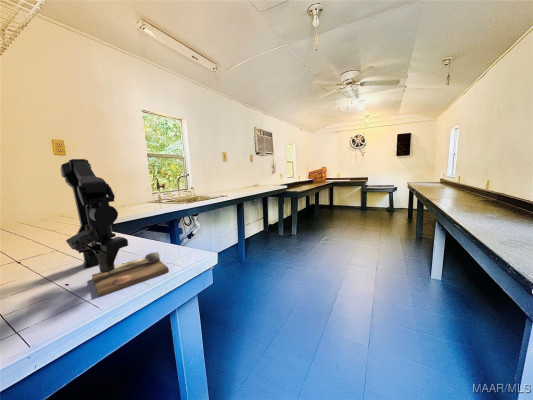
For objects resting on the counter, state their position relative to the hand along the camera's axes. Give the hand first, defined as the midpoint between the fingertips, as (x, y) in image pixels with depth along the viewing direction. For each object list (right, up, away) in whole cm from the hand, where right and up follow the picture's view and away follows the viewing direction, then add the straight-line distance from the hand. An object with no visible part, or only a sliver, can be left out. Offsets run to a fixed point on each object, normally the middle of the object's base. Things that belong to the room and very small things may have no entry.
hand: (106, 265), depth 72 cm
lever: (+5, -2, +5) cm, 8 cm away
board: (+6, -4, +3) cm, 8 cm away
